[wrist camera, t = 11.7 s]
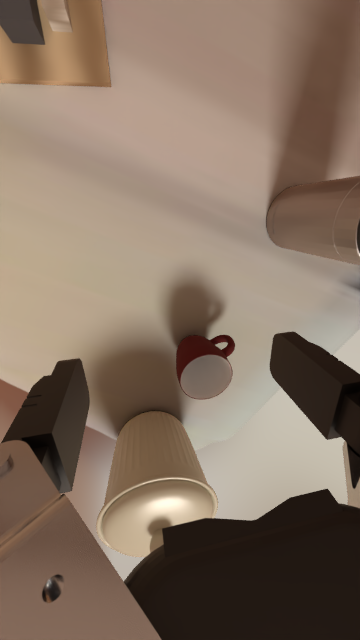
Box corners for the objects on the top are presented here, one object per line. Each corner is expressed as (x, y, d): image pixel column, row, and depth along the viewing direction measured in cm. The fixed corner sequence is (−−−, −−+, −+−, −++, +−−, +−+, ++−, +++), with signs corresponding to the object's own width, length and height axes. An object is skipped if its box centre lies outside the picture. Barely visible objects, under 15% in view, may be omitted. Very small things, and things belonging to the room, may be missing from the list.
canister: (86, 439, 49) (60, 581, 30) (149, 380, 47) (162, 496, 28) (152, 472, 57) (164, 603, 38) (210, 423, 54) (253, 537, 35)
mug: (207, 307, 43) (228, 332, 34) (231, 338, 46) (255, 368, 37) (160, 343, 44) (168, 377, 35) (186, 371, 47) (199, 408, 38)
